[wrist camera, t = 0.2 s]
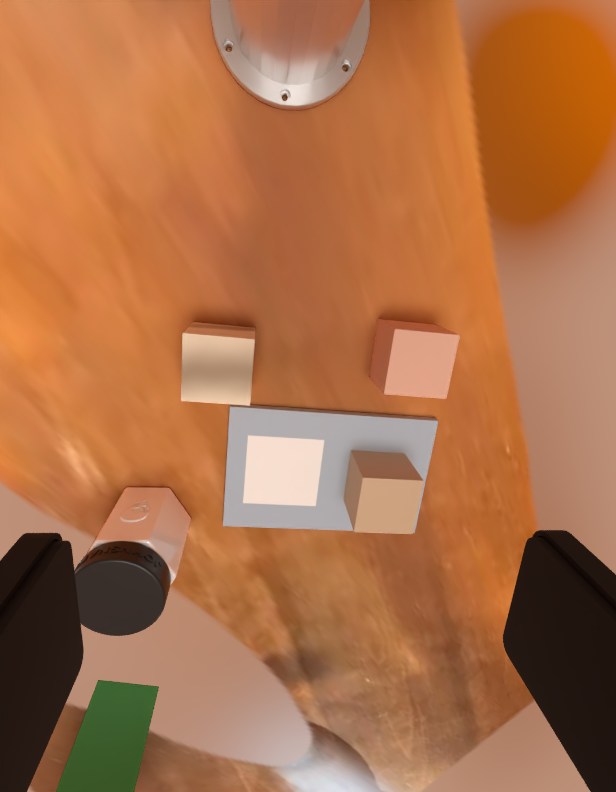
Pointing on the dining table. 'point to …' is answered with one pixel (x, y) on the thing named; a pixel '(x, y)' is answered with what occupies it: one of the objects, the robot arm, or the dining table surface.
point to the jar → (132, 562)
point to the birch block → (217, 363)
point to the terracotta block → (413, 358)
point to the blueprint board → (326, 469)
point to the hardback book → (110, 739)
